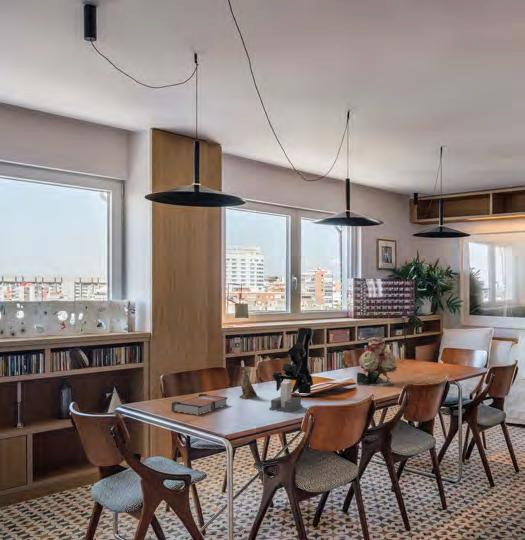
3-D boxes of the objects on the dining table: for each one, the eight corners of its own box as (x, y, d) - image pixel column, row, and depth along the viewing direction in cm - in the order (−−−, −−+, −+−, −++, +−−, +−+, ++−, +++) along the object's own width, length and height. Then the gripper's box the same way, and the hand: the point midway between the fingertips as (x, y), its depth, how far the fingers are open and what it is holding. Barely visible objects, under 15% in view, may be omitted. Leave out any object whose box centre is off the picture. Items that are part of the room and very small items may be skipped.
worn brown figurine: (245, 403, 317) (241, 373, 314) (238, 402, 321) (234, 372, 318) (258, 396, 326) (254, 366, 324) (251, 394, 330) (247, 365, 327)
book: (199, 416, 280) (199, 406, 280) (171, 412, 289) (171, 402, 289) (228, 406, 303) (228, 396, 303) (202, 402, 311) (202, 393, 311)
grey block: (285, 405, 297) (285, 381, 297) (291, 406, 295) (291, 382, 295) (280, 407, 292) (280, 382, 293) (286, 407, 290) (286, 383, 291)
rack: (282, 404, 303) (282, 395, 303) (302, 407, 296) (302, 397, 297) (269, 409, 291) (269, 400, 291) (289, 412, 284) (289, 402, 285)
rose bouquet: (357, 387, 352) (356, 338, 352) (356, 379, 380) (356, 334, 381) (399, 388, 348) (398, 339, 348) (395, 379, 376) (395, 334, 377)
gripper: (273, 356, 302) (263, 380, 293) (305, 359, 293) (295, 383, 283) (281, 369, 309) (271, 393, 299) (312, 372, 299) (302, 396, 290)
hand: (284, 391), depth 293 cm, fingers open, 9 cm apart
